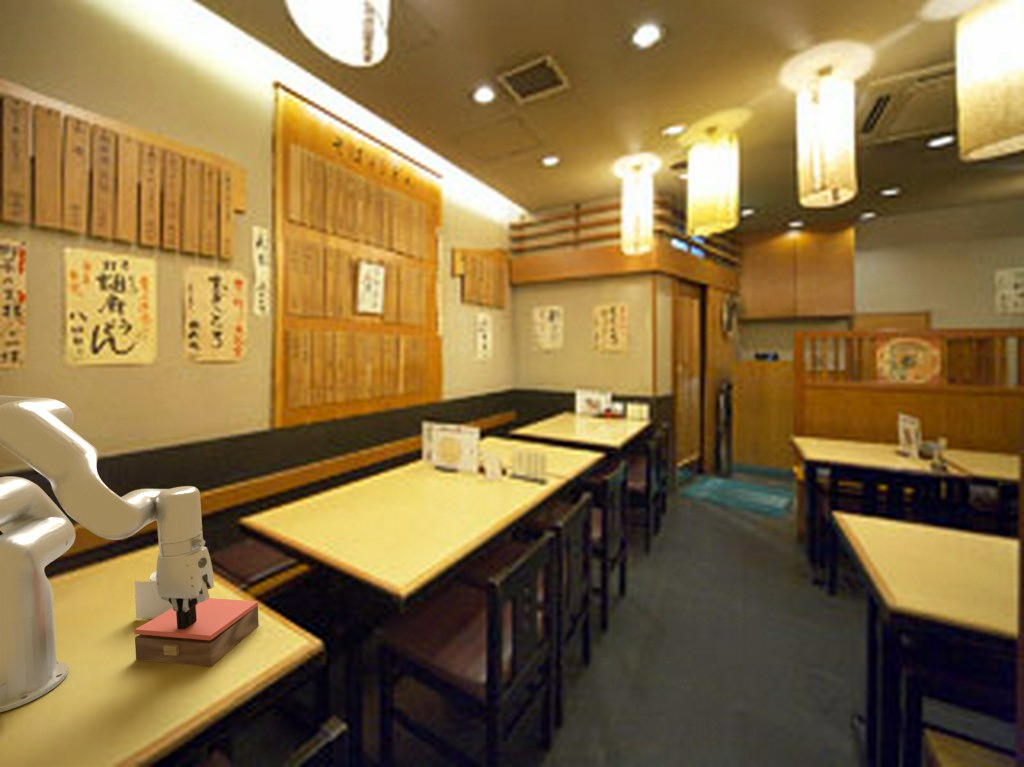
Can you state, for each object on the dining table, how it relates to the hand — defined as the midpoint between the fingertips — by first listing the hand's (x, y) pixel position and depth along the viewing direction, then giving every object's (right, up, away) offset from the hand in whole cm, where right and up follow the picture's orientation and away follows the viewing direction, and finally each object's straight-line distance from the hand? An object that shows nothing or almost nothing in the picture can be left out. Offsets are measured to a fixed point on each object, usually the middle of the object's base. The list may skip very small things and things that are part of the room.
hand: (187, 625), depth 92 cm
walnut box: (0, -6, +5) cm, 8 cm away
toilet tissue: (-17, -6, +18) cm, 25 cm away
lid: (0, -1, +4) cm, 4 cm away
